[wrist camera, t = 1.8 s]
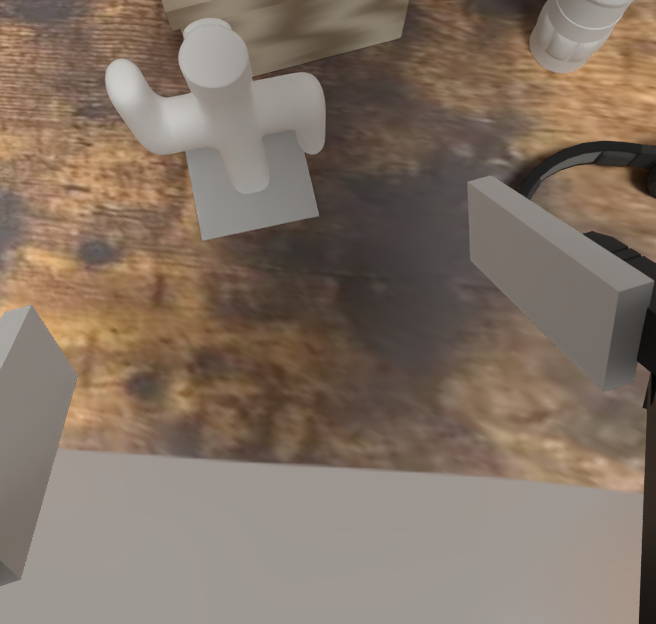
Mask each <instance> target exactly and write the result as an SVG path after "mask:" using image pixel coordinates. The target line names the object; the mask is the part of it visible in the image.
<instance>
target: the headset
mask: <svg viewBox="0 0 656 624" xmlns="http://www.w3.org/2000/svg"><path fill="white" fill-rule="evenodd" d="M591 163H595V164H597V165H611V166H619V167H623V166H633V167H639V168H644V169H647V170H648V175H649V177H648V181H647V188H648V190H649V192H650V194H651V195H652V196H653V197H655V198H656V146H648V145H642V144H635V143H627V142H616V141H597V142H588V143H582V144H579V145H575V146H572V147H569V148H566V149H563V150H562V151H560V152H558V153H556V154H554V155H552V156H550V157H548V158H547V159H546V160H544V161H543V162H542V163H541V164H539V165H538V166H537V167H536V168H534V169H533V171H532V172H531V173H530V174H529V175H528V177H527V178H526V179H525V180H524V181H523V183H522V184H521V186H520V187H519V189H518V191H517V192H518V193H519V194H521V195H522V196H524V197H526V198H527V199H529V200H530V199H531V197H532V195H533V194H534V192H535V191H536V190H537V188H538V187H539V185H540V183H541V182H542V181H543V180H544V179H545V178H547V177H549V176H551V175H553V174H555V173H556V172H558V171H560V170H563V169H567V168H570V167H573V166H576V165H584V164H591Z"/></svg>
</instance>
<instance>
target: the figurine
mask: <svg viewBox="0 0 656 624" xmlns="http://www.w3.org/2000/svg"><path fill="white" fill-rule="evenodd" d="M183 38H184V41H183V43H182V45H181V47H180V50H179V56H178V60H179V66H180V69H181V71H182V73H183V75H184V78H185V80H186V82H187V84H188V86H189V88H190V90H191V93H188V94H184V95H179V96H174V97H168V98H165V97H162V96H159V95H157V94H156V93H154V92H153V91H152V89H151V88H150V87H149V85H148V83H147V81H146V80H145V78H144V76H143V74H142V73H141V71H140V70H139V68H138V67H137V66H136V65H135V64H134V63H132V62H131V61H129V60H126V59H117V60H115V61H113V62H112V63H111V64H110V65H109V66H108V68H107V70H106V74H105V83H106V89H107V93H108V95H109V98H110V100H111V102H112V103H113V105H114V107H115V108H116V110H117V111H118V113H119V114H120V115H121V117H122V118H123V120H124V121H125V123H126V124H127V126H128V127H129V129H130V130H131V131H132V133H133V134H134V136H135V137H136V139H137V140H138V141H139V142H140V143H141V144H142V146H143V147H144V148H145V149H147V150H148V151H150V152H152V153H154V154H158V155H168V154H174V153H179V152H184V151H185V153H186V159H187V164H188V169H189V174H190V179H191V185H192V190H193V195H194V200H195V205H196V211H197V216H198V221H199V226H200V231H201V237H202V241H204V240H208V239H213V238H218V237H223V236H227V235H232V234H237V233H241V232H246V231H251V230H256V229H260V228H265V227H270V226H275V225H279V224H284V223H289V222H294V221H298V220H303V219H308V218H313V217H317V216H319V212H318V208H317V204H316V200H315V195H314V191H313V187H312V183H311V178H310V174H309V170H308V166H307V162H306V157H305V153H304V152H306V153H307V154H311V155H312V154H317V153H319V152H320V151H321V150H322V148H323V146H324V143H325V121H326V110H325V99H324V93H323V90H322V87H321V85H320V83H319V81H318V80H317V78H316V77H315V76H313V75H312V74H310V73H305V72H298V73H292V74H287V75H282V76H276V77H271V78H266V79H261V80H256V81H252V68H251V64H250V59H249V54H248V50H247V47H246V44H245V43H244V41H243V40H242V38H241V37H240V36H239V35H238V34H237V33H236V32H234V31H232V29H231V26H230V25H229V24H228V23H227V22H225V21H223V20H221V19H217V18H203V19H199V20H197V21H195V22H193V23H191V24H189V25H188V26H187V27H186V28H185V29H184V32H183Z"/></svg>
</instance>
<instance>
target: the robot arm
mask: <svg viewBox="0 0 656 624" xmlns="http://www.w3.org/2000/svg"><path fill="white" fill-rule="evenodd" d="M468 210H469V237H470V260H471V261H472V262H473V263H474V264H475V265H476V266H477V267H478V268H479V269H480V270H481V271H482V272H483V273H484V274H485V275H486V276H487V277H488V278H489V279H490V280H491V281H492V282H493V283H494V284H495V285H496V286H497V287H498V288H499V289H500V290H501V291H502V292H503V293H504V294H505V295H506V296H507V297H508V298H509V299H510V300H511V301H512V302H513V303H514V304H515V305H516V306H517V307H518V308H519V309H520V310H521V311H522V312H523V313H524V314H525V315H526V316H527V317H528V318H529V319H530V320H531V321H532V322H533V323H534V324H535V325H536V326H537V327H538V328H539V329H540V330H541V331H542V332H543V333H544V334H545V335H546V336H547V337H548V338H549V339H550V340H551V341H552V342H553V343H554V344H555V345H556V346H557V347H558V348H559V349H560V350H561V351H562V352H563V353H564V354H565V355H566V356H567V357H568V358H569V359H570V360H571V361H572V362H573V363H574V364H575V365H576V366H577V367H578V368H579V369H580V370H581V371H582V372H583V373H584V374H585V375H586V376H587V377H588V378H589V379H590V380H591V381H592V382H593V383H594V384H595V385H596V386H597V387H598V388H599V389H600V390H601V391H602V392H604V391H607V390H610V389H613V388H617V387H620V386H623V385H626V384H629V383H632V382H634V377H635V372H636V367H637V363H638V362H639V363H640V364H641V365H643V366H644V367H645V368H646V369H647V370H648V371H650V372H651V374H650V378H649V382H648V387H647V391H646V395H645V400H644V404H643V408H645V409H647V426H646V452H645V477H644V503H643V530H642V531H643V532H642V555H641V581H640V607H639V624H656V263H654V262H653V261H651V260H649V259H648V258H646V257H645V256H643V257H641V254H640V253H638V252H636V251H635V250H633V249H629V248H628V246H626V245H625V244H623V243H621V242H620V241H618V240H617V239H615V238H613V237H610V236H607V235H603V234H600V233H596V232H593V231H591V232H588V233H584V234H581V233H580V232H578V231H577V230H575V229H574V228H572V227H570V226H569V225H567V224H566V223H564V222H563V221H561V220H560V219H558V218H557V217H555V216H553V215H552V214H550V213H549V212H547V211H546V210H544V209H543V208H541V207H539V206H538V205H536V204H535V203H533V202H532V201H530V200H529V199H527V198H526V197H524V196H522V195H521V194H519V193H518V192H516V191H515V190H513V189H512V188H510V187H509V186H507V185H505V184H504V183H502V182H501V181H499V180H498V179H496V178H495V177H493V176H492V175H490V176H487V177H483V178H480V179H476V180H473V181H469V182H468ZM77 377H78V375H77V374H76V372H75V371H74V369H73V368H72V366H71V365H70V363H69V361H68V360H67V358H66V357H65V355H64V354H63V352H62V351H61V349H60V348H59V346H58V344H57V343H56V341H55V340H54V338H53V337H52V335H51V334H50V332H49V331H48V329H47V327H46V326H45V324H44V323H43V321H42V320H41V318H40V317H39V315H38V313H37V312H36V310H35V309H34V307H33V306H32V305H29V306H25V307H22V308H18V309H14V310H11V311H7V312H4V314H3V316H2V318H1V319H0V586H2V585H5V584H8V583H11V582H14V581H18V580H20V579H21V576H22V573H23V569H24V566H25V562H26V559H27V555H28V551H29V547H30V544H31V541H32V537H33V533H34V530H35V526H36V523H37V519H38V516H39V512H40V509H41V505H42V501H43V498H44V494H45V491H46V487H47V484H48V480H49V477H50V473H51V469H52V466H53V462H54V459H55V455H56V452H57V448H58V445H59V441H60V437H61V434H62V430H63V427H64V423H65V420H66V416H67V412H68V409H69V405H70V402H71V398H72V395H73V391H74V387H75V384H76V380H77Z"/></svg>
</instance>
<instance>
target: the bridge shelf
mask: <svg viewBox="0 0 656 624" xmlns="http://www.w3.org/2000/svg"><path fill="white" fill-rule="evenodd" d="M161 1H162V4H163V8H164V11H165V14H166V17H167V19H168V22H169V24H170V27H171V29H172V31H175V30H179V29H180V30H181V32H182V35H183V32H184V29H185V28H186V27H187V26H188V25H189V24H191V23H193V22H195V21H197V20H199V19H203V18H217V19H221V20H223V21H225V22H227V23H228V24H229V25H230V26H231V29H232V31H234V32H236V33H237V34H238V35H239V36H240V37H241V38H242V40H243V41H244V43H245V44H246V47H247V50H248V54H249V59H250V64H251V68H252V77H254V76H258V75H262V74H266V73H269V72H273V71H277V70H281V69H285V68H289V67H292V66H296V65H300V64H304V63H308V62H311V61H315V60H319V59H323V58H327V57H330V56H334V55H338V54H342V53H346V52H349V51H353V50H357V49H361V48H365V47H368V46H372V45H376V44H380V43H384V42H388V41H391V40H395V39H399V38H401V35H402V31H403V26H404V22H405V17H406V13H407V8H408V3H409V0H161Z"/></svg>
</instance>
